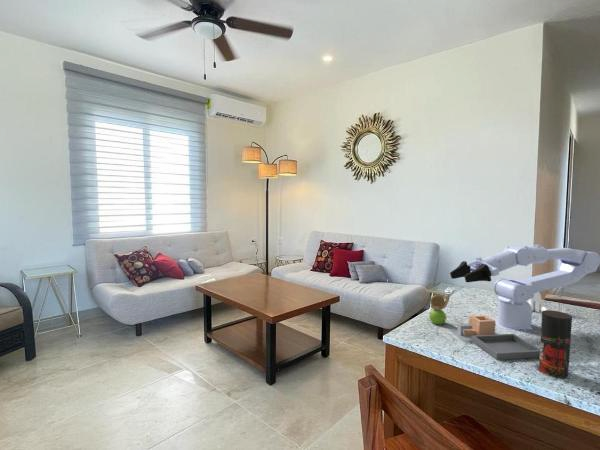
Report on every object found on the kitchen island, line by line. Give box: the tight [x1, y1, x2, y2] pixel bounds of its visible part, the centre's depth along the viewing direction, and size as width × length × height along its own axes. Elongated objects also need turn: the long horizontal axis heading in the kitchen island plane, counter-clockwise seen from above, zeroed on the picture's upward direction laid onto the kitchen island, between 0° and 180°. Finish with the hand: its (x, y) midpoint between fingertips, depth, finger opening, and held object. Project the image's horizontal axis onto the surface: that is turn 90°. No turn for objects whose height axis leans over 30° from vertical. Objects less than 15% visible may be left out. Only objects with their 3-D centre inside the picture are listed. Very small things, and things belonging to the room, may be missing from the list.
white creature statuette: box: [527, 292, 549, 314], centre depth 131 cm, size 10×9×12 cm
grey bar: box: [457, 323, 472, 336], centre depth 107 cm, size 8×2×4 cm, turn 95°
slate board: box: [447, 328, 498, 342], centre depth 107 cm, size 14×9×1 cm, turn 95°
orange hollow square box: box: [463, 314, 496, 335], centre depth 107 cm, size 9×5×5 cm, turn 95°
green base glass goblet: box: [429, 290, 451, 326], centre depth 116 cm, size 5×6×12 cm
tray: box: [470, 333, 540, 361], centre depth 96 cm, size 14×12×2 cm
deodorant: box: [538, 309, 573, 379], centre depth 84 cm, size 6×6×15 cm
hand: (458, 277), depth 109 cm, fingers open, 7 cm apart
